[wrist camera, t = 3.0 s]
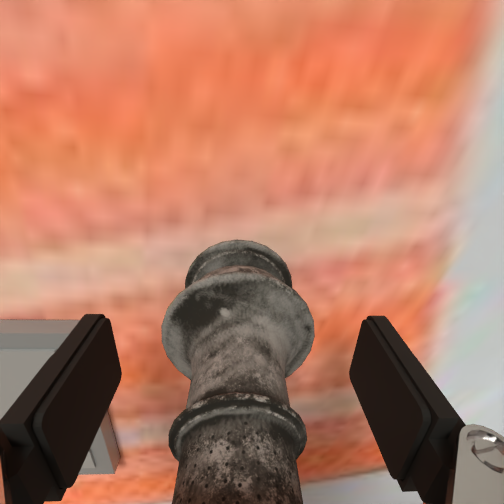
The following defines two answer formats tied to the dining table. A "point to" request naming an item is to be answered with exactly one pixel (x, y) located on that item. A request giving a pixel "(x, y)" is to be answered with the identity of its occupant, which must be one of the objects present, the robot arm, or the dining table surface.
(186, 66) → the dining table surface
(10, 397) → the coaster
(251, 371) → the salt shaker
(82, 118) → the dining table surface
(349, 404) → the dining table surface
